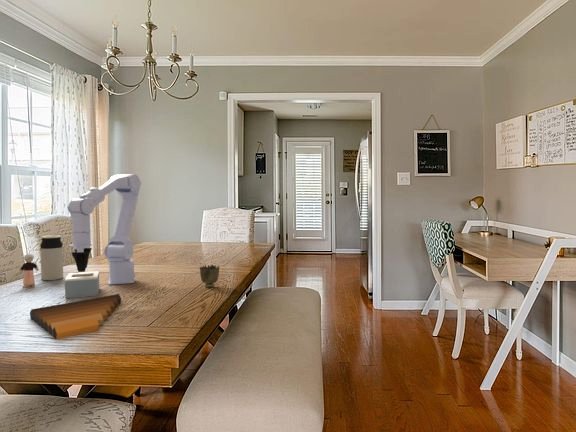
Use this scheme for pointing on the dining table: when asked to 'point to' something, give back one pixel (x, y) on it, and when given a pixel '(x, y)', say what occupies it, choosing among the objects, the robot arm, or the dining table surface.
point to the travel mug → (51, 257)
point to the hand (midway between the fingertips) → (82, 269)
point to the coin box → (82, 284)
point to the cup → (209, 275)
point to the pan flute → (75, 316)
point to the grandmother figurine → (28, 271)
